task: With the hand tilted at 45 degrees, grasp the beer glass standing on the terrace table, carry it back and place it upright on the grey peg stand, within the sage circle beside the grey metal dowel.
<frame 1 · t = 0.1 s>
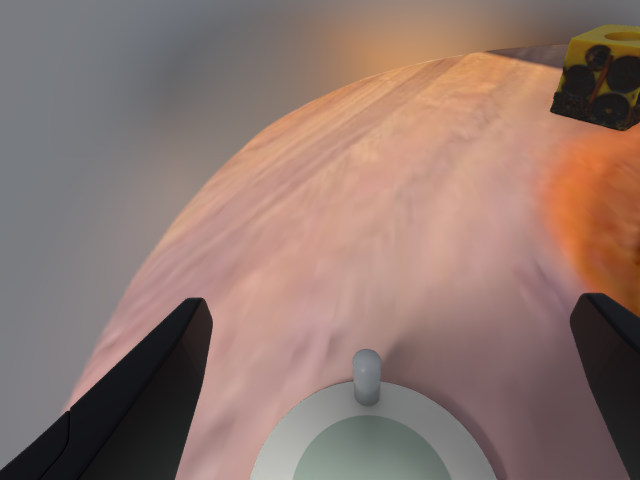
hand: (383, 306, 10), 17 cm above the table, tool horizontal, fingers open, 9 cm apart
candle: (601, 113, 55), on the table
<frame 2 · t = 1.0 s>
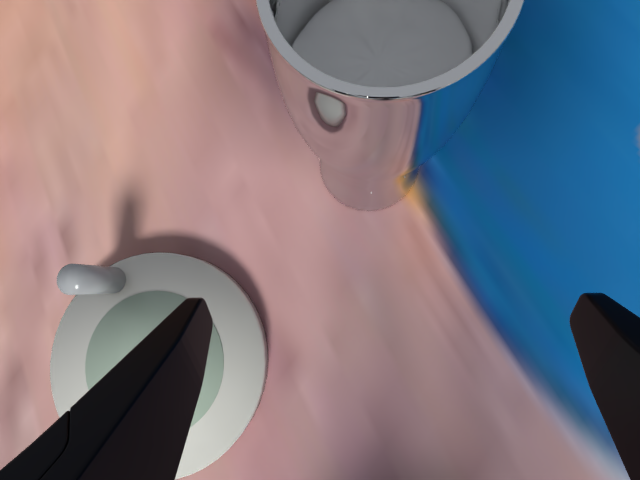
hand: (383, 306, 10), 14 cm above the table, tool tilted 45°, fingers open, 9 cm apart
beer glass: (368, 164, 24), on the table
grey peg stand: (164, 359, 24), on the table
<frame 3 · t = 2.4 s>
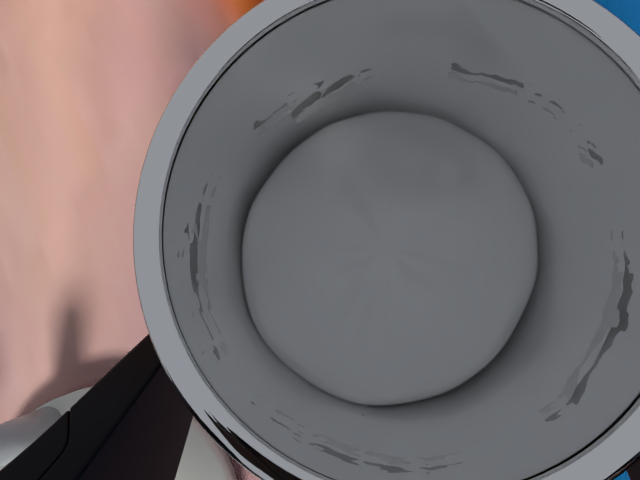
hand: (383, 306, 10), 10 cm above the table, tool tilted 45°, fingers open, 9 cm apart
beer glass: (369, 269, 19), on the table
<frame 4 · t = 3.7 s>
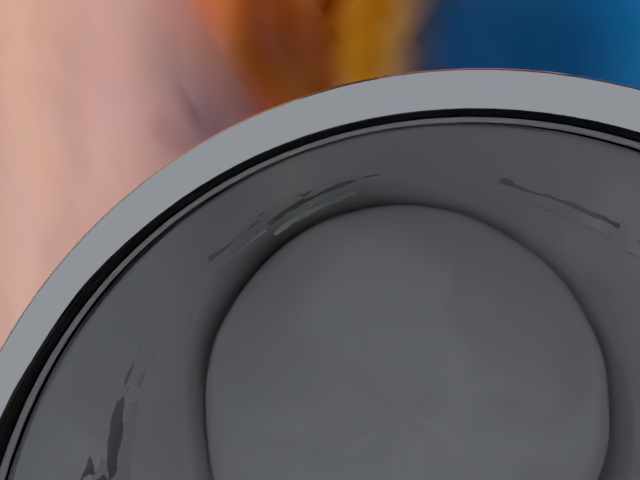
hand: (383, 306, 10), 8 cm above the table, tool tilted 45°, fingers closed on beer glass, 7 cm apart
beer glass: (373, 326, 17), on the table, touching gripper
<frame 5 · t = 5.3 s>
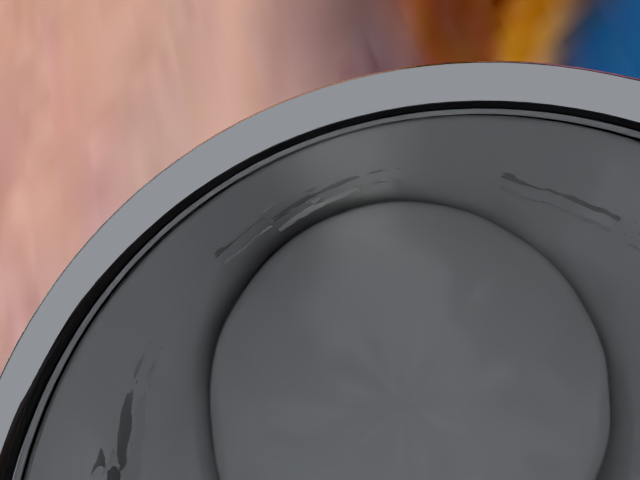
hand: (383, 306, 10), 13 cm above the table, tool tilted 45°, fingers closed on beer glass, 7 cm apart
beer glass: (373, 325, 17), point 5 cm above the table, touching gripper
when the fingers open (10 cm above the table, at t = 7.0 s): beer glass drops 1 cm, resting on grey peg stand.
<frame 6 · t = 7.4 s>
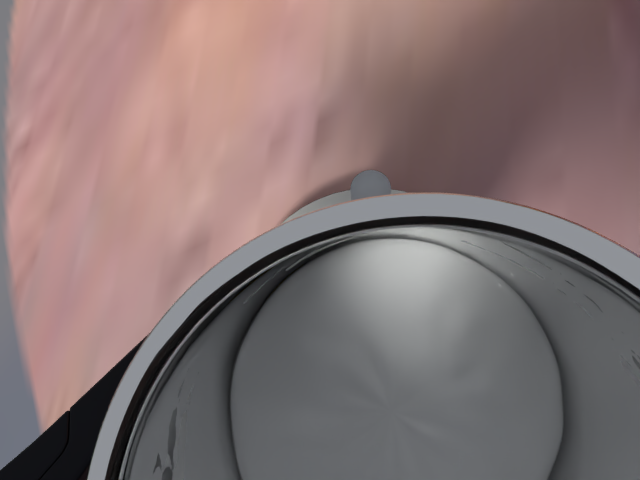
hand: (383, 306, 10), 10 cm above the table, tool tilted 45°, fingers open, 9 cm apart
beer glass: (371, 331, 18), point 1 cm above the table, touching grey peg stand
grey peg stand: (370, 320, 20), on the table
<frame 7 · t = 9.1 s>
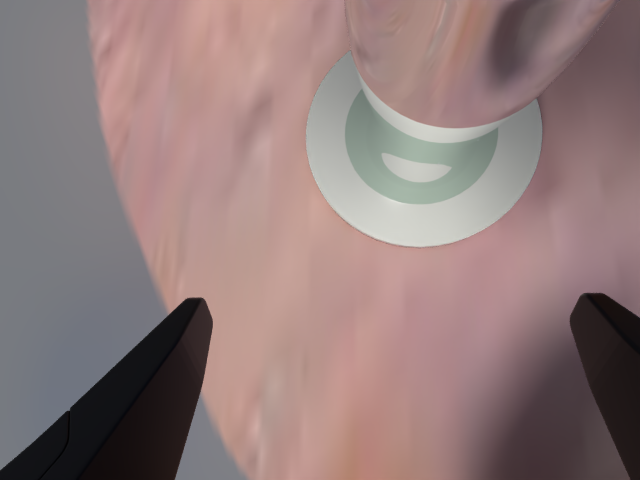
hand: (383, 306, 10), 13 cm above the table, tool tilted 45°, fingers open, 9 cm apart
beer glass: (419, 138, 22), point 1 cm above the table, touching grey peg stand
grey peg stand: (417, 139, 23), on the table
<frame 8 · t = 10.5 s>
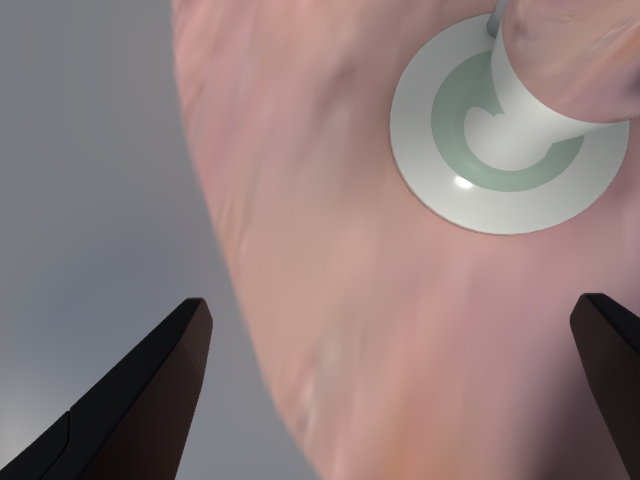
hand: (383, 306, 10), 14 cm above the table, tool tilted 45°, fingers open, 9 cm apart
beer glass: (506, 126, 22), point 1 cm above the table, touching grey peg stand
grey peg stand: (499, 127, 23), on the table
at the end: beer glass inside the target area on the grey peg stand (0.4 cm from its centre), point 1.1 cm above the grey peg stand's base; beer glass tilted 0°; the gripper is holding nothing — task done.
